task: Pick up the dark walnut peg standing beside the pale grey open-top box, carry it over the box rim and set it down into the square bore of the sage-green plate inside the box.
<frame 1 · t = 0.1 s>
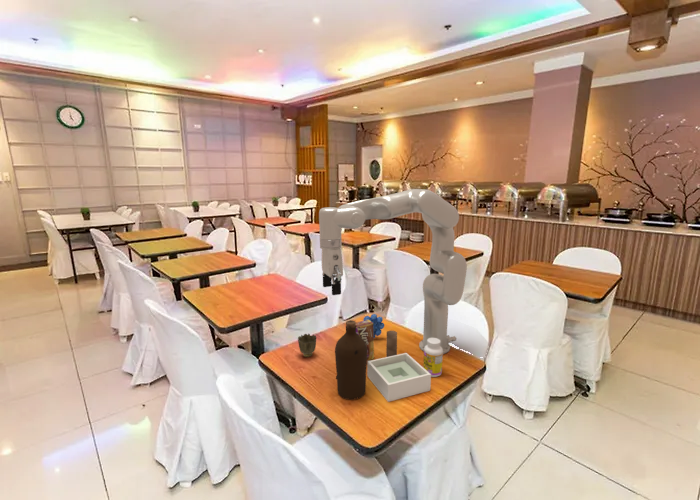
hand: (331, 290, 128), 31 cm above the table, tool pointing down, fingers open, 9 cm apart
supplement bottle: (432, 373, 131), on the table
olive oil: (351, 391, 121), on the table
cup: (307, 356, 145), on the table
grapes: (370, 339, 159), on the table
candy box: (361, 359, 141), on the table
peg: (391, 361, 140), on the table
box: (397, 383, 125), on the table
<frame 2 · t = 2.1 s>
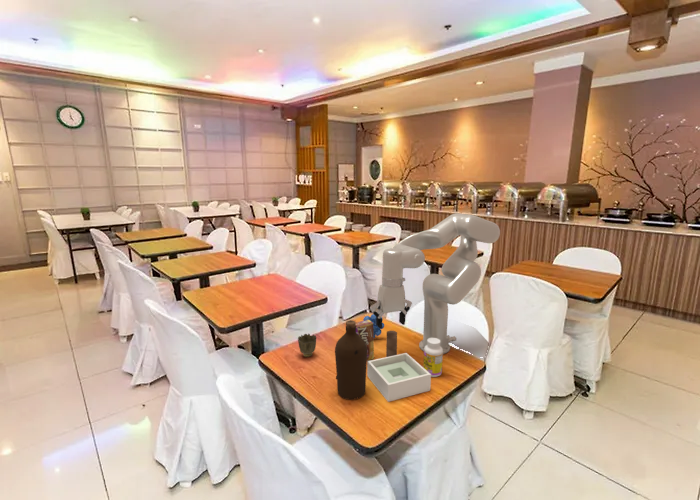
hand: (390, 325, 136), 15 cm above the table, tool pointing down, fingers open, 9 cm apart
nothing on the table moved.
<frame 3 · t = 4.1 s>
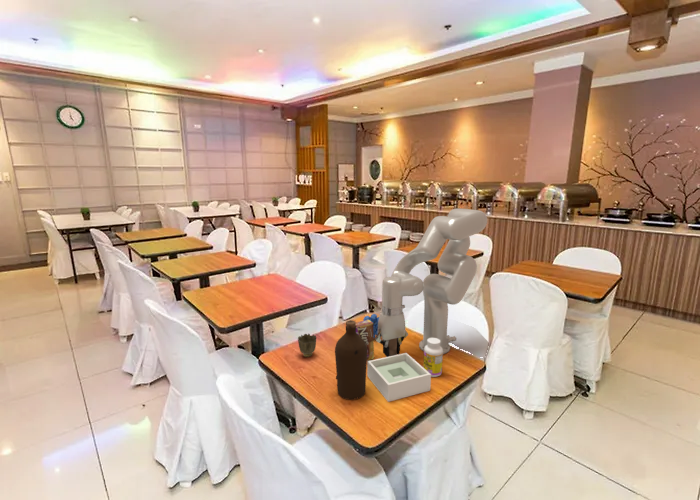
hand: (391, 353, 139), 3 cm above the table, tool pointing down, fingers closed on peg, 4 cm apart
peg: (391, 361, 140), on the table, touching gripper
everything else where it was.
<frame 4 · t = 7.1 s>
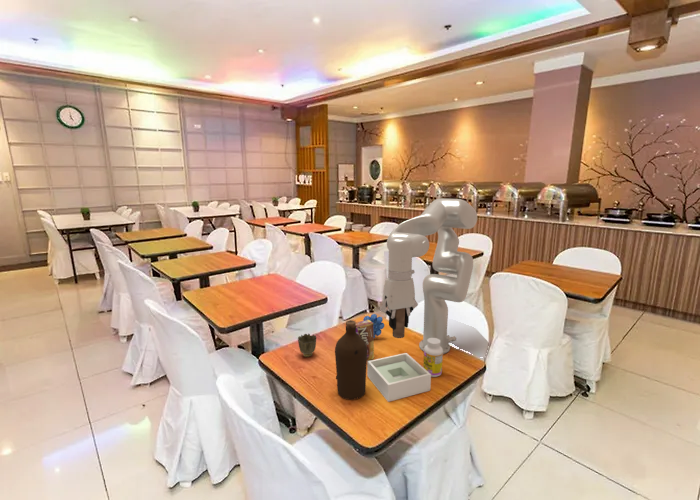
hand: (398, 326, 121), 21 cm above the table, tool pointing down, fingers closed on peg, 4 cm apart
peg: (398, 335, 121), point 18 cm above the table, touching gripper
everything else where it was.
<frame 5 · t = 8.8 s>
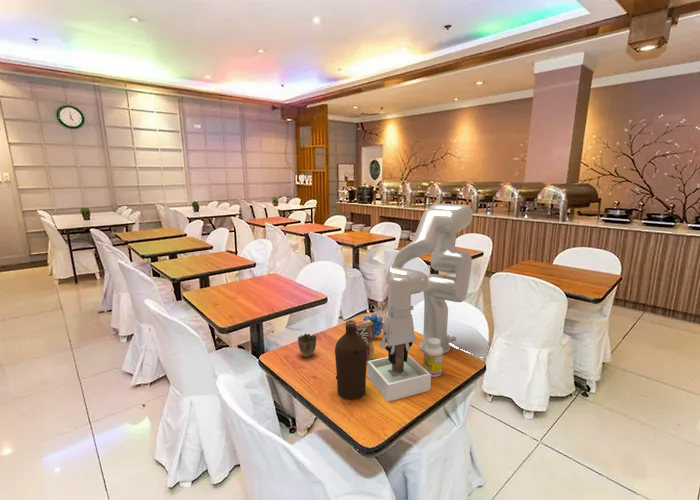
hand: (398, 361, 123), 9 cm above the table, tool pointing down, fingers closed on peg, 4 cm apart
peg: (397, 369, 124), point 5 cm above the table, touching gripper
everything else where it was.
when the fingers open (5 cm above the table, at t = 10.1 s): peg stays where it is, resting on box.
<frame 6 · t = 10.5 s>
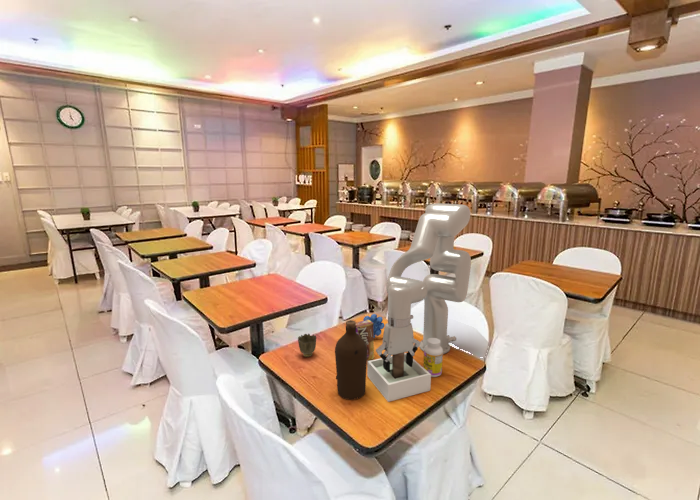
hand: (398, 367, 124), 6 cm above the table, tool pointing down, fingers open, 8 cm apart
peg: (397, 380, 125), point 1 cm above the table, touching box
everything else where it was.
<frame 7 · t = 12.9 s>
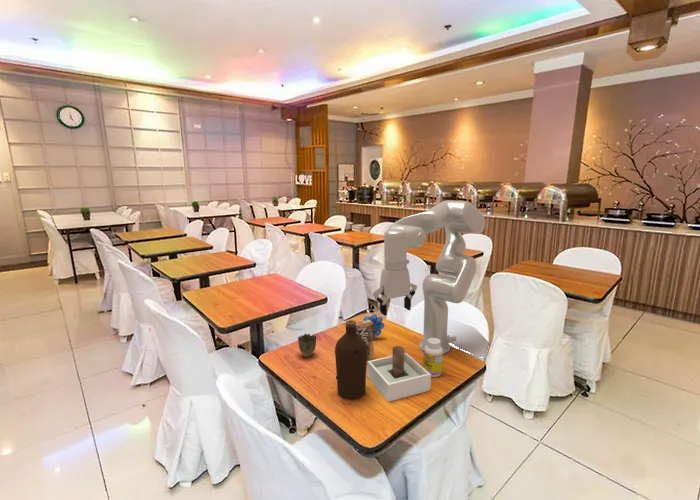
hand: (395, 311, 127), 24 cm above the table, tool pointing down, fingers open, 9 cm apart
nothing on the table moved.
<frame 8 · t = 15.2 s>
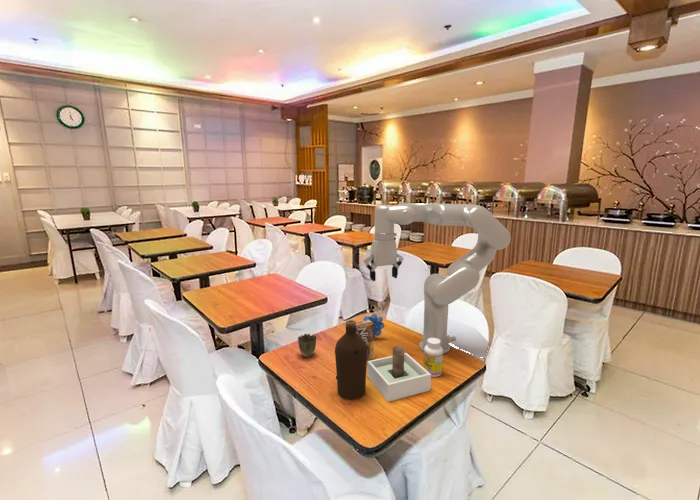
hand: (383, 278, 144), 30 cm above the table, tool pointing down, fingers open, 9 cm apart
nothing on the table moved.
at the end: peg 0.1 cm off-centre on the box, point 1.0 cm above the box's base; peg tilted 0°; the gripper is holding nothing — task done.
